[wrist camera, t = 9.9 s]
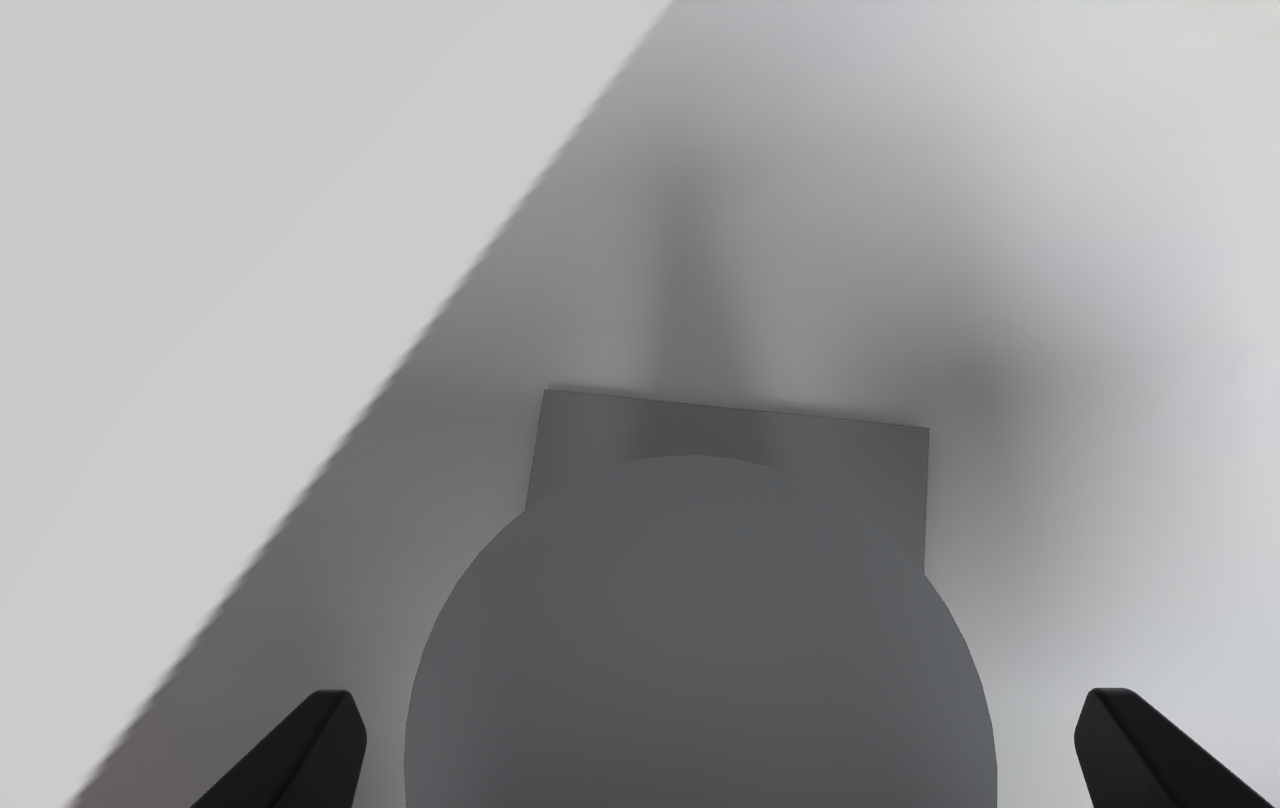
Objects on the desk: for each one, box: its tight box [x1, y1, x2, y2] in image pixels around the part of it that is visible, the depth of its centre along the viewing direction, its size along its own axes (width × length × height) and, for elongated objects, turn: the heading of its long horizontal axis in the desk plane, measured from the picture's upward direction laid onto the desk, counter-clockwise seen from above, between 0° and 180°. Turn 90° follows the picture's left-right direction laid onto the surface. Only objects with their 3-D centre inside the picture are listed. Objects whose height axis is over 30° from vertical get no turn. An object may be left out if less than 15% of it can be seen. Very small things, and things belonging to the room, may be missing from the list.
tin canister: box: [404, 455, 997, 808], centre depth 12 cm, size 5×5×12 cm
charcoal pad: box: [525, 390, 929, 573], centre depth 18 cm, size 12×10×1 cm
